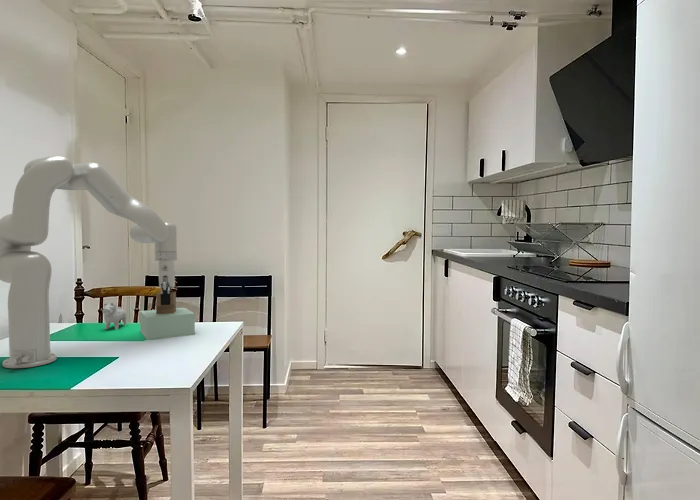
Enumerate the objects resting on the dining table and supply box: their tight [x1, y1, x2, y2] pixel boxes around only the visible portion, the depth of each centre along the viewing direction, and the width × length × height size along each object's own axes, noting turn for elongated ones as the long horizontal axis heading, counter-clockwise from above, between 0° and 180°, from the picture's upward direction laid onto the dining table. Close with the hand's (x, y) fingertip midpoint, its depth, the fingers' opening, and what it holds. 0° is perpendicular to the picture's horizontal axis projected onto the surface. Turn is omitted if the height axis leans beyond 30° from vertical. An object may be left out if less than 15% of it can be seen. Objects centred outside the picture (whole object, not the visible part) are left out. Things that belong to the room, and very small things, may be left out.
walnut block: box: [155, 291, 177, 314], centre depth 168 cm, size 6×6×7 cm
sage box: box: [139, 307, 196, 341], centre depth 168 cm, size 16×16×8 cm
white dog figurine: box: [101, 301, 128, 330], centre depth 177 cm, size 5×13×11 cm, turn 2°
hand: (166, 302), depth 168 cm, fingers open, 9 cm apart
